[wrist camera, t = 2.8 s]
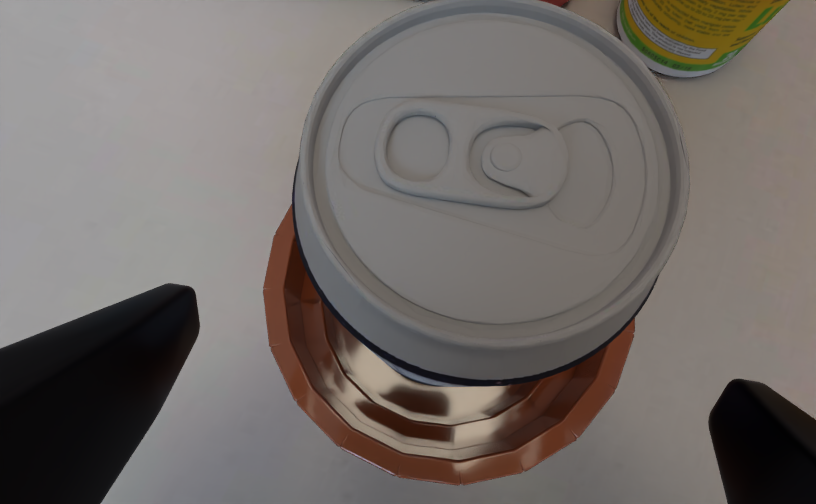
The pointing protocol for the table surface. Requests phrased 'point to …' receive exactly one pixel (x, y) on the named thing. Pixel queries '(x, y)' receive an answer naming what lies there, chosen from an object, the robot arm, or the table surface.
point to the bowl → (421, 393)
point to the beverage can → (488, 190)
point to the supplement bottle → (691, 31)
